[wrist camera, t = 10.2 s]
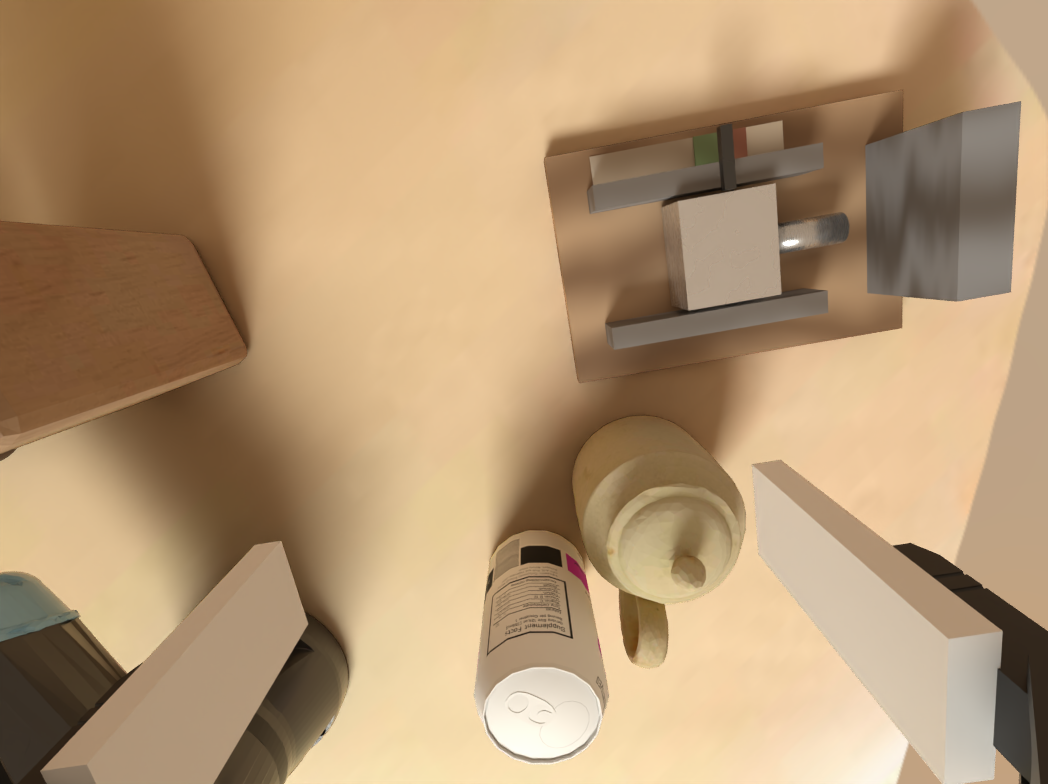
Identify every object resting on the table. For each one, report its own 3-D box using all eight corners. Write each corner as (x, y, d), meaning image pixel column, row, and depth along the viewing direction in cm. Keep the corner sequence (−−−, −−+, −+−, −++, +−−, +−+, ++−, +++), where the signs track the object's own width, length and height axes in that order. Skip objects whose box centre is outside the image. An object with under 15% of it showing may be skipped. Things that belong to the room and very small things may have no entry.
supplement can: (601, 552, 44) (639, 695, 30) (552, 624, 46) (565, 792, 31) (519, 509, 43) (516, 634, 29) (471, 584, 45) (447, 738, 30)
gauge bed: (894, 324, 39) (1008, 343, 30) (577, 378, 40) (593, 413, 31) (894, 95, 36) (1024, 37, 26) (543, 161, 37) (550, 128, 27)
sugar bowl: (731, 551, 44) (834, 694, 30) (609, 591, 45) (649, 747, 31) (683, 393, 41) (771, 467, 26) (551, 440, 42) (566, 535, 27)
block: (192, 230, 38) (-157, 197, 18) (257, 356, 40) (7, 445, 21) (75, 280, 39) (-377, 299, 19) (145, 400, 41) (-196, 526, 22)
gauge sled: (824, 278, 37) (867, 281, 32) (671, 305, 37) (691, 311, 33) (819, 119, 34) (864, 97, 30) (655, 150, 35) (674, 134, 30)
